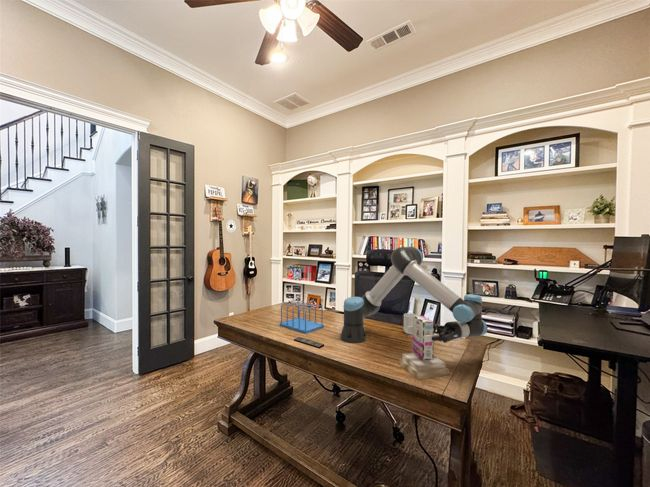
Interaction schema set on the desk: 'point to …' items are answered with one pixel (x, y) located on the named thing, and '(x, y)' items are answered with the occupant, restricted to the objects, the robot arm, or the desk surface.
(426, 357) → the candy bar box
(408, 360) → the plinth
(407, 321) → the mug
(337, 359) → the desk surface
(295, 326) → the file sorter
